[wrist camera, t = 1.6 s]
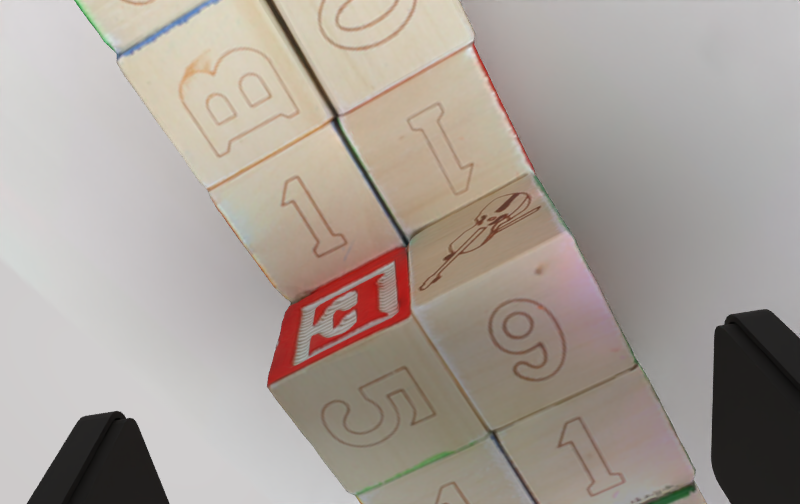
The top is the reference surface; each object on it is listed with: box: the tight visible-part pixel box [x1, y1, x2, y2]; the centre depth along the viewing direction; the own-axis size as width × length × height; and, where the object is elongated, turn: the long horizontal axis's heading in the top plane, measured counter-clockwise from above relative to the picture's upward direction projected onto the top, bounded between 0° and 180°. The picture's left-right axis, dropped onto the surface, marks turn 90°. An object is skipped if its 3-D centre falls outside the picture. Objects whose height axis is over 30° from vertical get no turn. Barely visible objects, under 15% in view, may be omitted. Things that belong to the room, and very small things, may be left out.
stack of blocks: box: [74, 0, 707, 504], centre depth 18 cm, size 21×6×12 cm, turn 28°
